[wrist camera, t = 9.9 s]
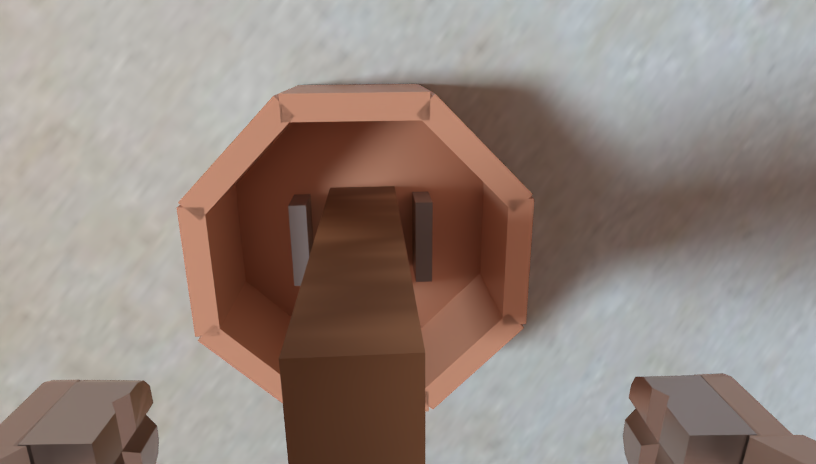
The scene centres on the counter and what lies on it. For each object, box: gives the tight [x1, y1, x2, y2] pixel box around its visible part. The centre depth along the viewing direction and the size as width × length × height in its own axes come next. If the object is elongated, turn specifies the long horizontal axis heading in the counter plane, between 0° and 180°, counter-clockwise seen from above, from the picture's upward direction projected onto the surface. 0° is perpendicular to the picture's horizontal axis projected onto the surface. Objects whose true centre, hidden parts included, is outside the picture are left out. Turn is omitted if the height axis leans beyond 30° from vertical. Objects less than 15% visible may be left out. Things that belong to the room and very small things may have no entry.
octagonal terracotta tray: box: [177, 84, 534, 411], centre depth 19 cm, size 11×11×4 cm
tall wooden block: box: [279, 186, 425, 464], centre depth 15 cm, size 2×4×12 cm, turn 1°
